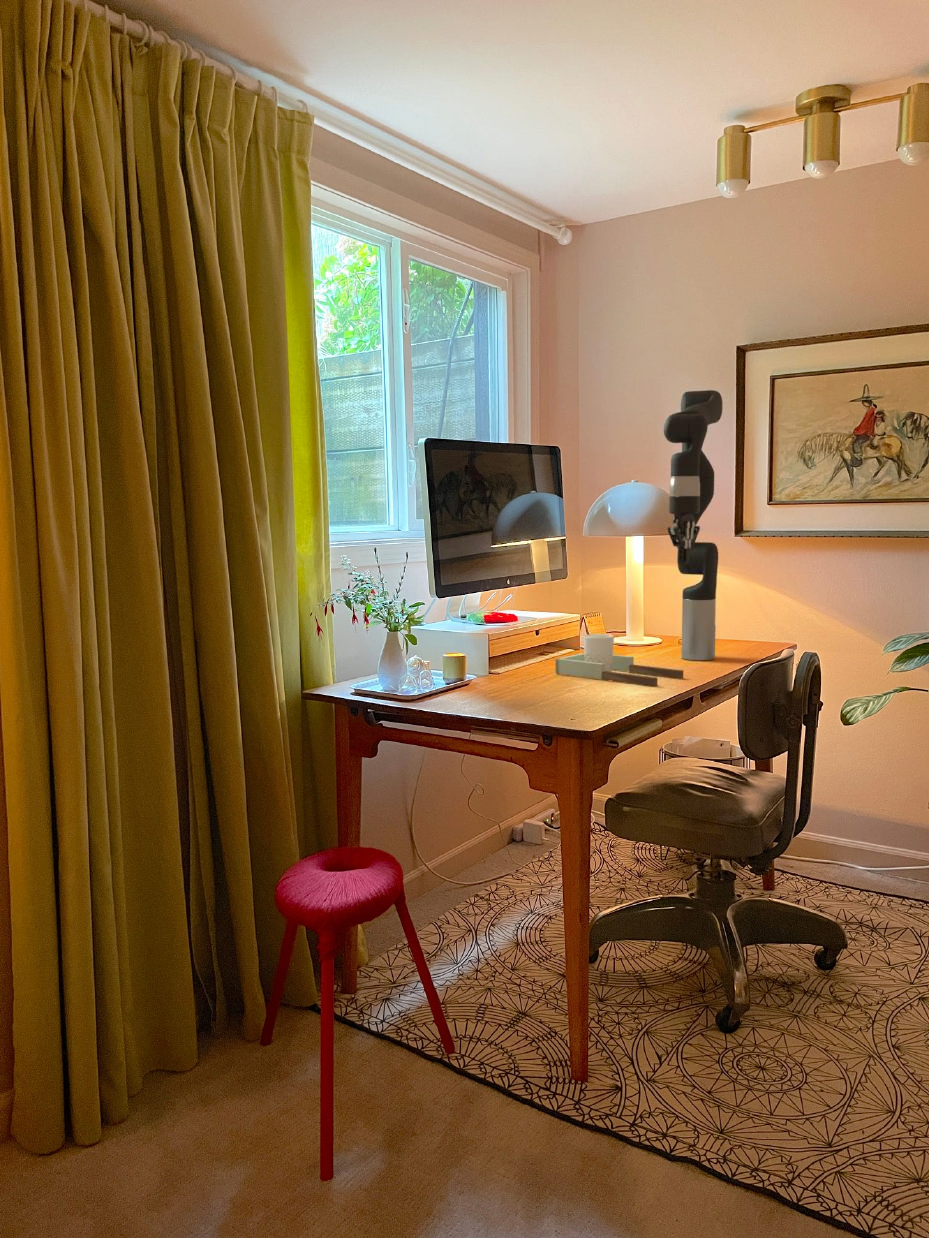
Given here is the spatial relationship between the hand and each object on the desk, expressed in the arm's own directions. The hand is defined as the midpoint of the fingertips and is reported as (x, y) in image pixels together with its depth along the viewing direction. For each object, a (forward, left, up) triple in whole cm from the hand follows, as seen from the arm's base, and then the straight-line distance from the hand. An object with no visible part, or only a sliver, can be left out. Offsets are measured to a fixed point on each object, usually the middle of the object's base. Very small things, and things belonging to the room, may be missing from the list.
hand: (683, 563), depth 239 cm
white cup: (+10, -19, -29) cm, 36 cm away
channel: (+10, -5, -29) cm, 31 cm away
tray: (+10, -19, -29) cm, 36 cm away
